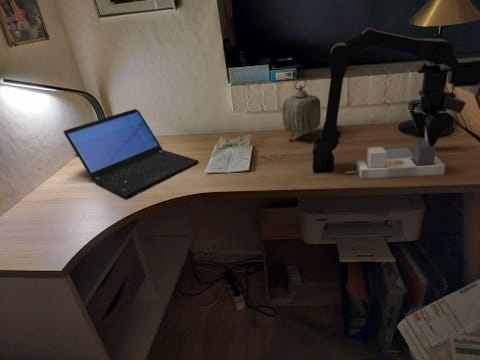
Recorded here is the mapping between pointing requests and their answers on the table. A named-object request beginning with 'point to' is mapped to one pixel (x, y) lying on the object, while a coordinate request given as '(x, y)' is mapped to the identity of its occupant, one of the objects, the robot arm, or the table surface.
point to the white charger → (376, 157)
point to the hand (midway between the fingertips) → (425, 140)
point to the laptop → (124, 153)
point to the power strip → (398, 169)
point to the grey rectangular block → (424, 153)
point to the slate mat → (398, 153)
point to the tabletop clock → (301, 112)
